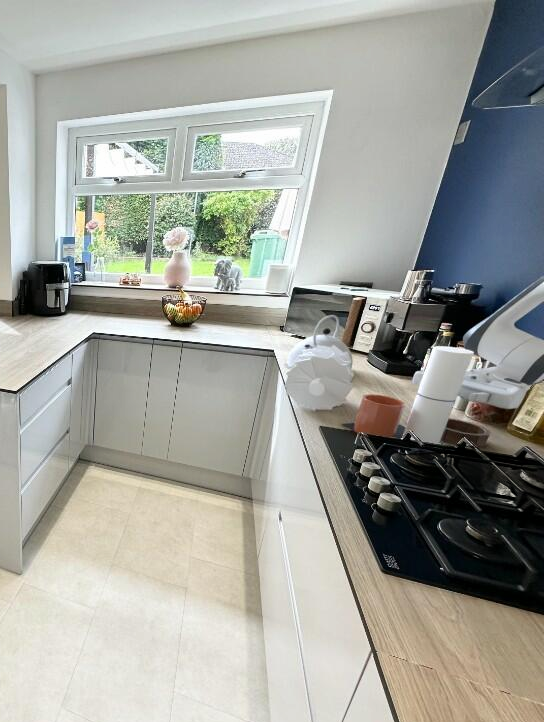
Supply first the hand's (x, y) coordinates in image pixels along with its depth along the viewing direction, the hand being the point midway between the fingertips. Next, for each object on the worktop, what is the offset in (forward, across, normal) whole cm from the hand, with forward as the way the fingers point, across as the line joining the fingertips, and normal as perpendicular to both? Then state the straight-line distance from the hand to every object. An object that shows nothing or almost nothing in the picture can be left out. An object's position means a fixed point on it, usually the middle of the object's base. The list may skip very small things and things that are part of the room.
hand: (443, 390), depth 102 cm
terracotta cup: (+9, -7, +14) cm, 18 cm away
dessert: (-7, -21, +20) cm, 30 cm away
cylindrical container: (+2, 0, +14) cm, 14 cm away
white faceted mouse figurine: (+3, -30, +15) cm, 34 cm away
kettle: (-33, -59, +15) cm, 69 cm away
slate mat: (+5, -4, +14) cm, 16 cm away
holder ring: (-10, +1, +14) cm, 18 cm away
